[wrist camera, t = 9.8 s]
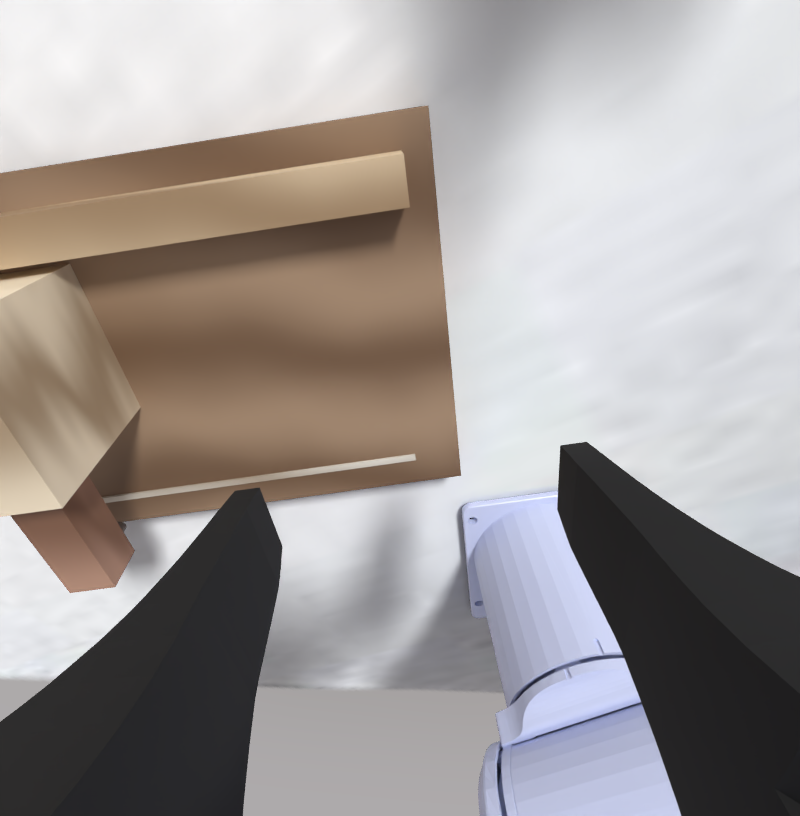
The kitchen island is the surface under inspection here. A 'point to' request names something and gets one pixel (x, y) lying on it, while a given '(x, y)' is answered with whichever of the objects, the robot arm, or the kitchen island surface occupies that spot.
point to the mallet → (60, 425)
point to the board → (258, 308)
